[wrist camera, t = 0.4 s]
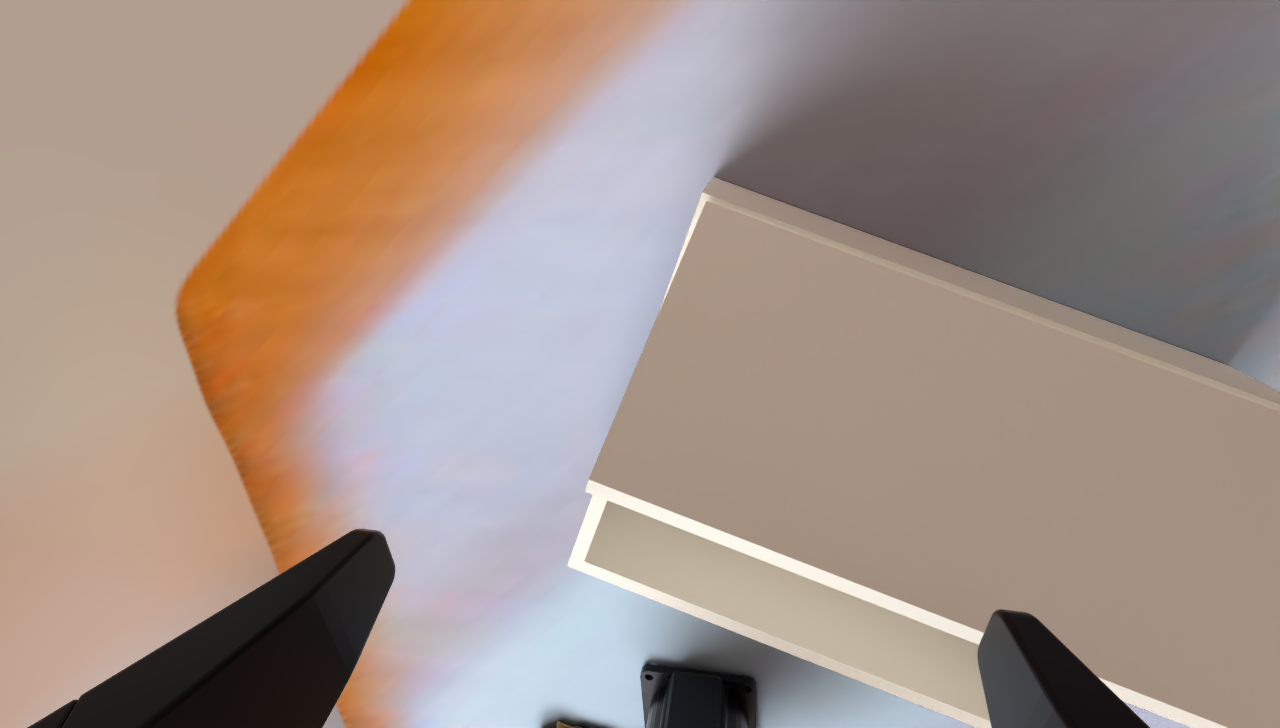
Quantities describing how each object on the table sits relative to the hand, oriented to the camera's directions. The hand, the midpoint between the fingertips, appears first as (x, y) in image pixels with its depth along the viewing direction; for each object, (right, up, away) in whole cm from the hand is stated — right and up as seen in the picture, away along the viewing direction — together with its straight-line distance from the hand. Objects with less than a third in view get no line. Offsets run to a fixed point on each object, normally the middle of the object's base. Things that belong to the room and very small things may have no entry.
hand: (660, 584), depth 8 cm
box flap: (+11, +5, +8) cm, 14 cm away
